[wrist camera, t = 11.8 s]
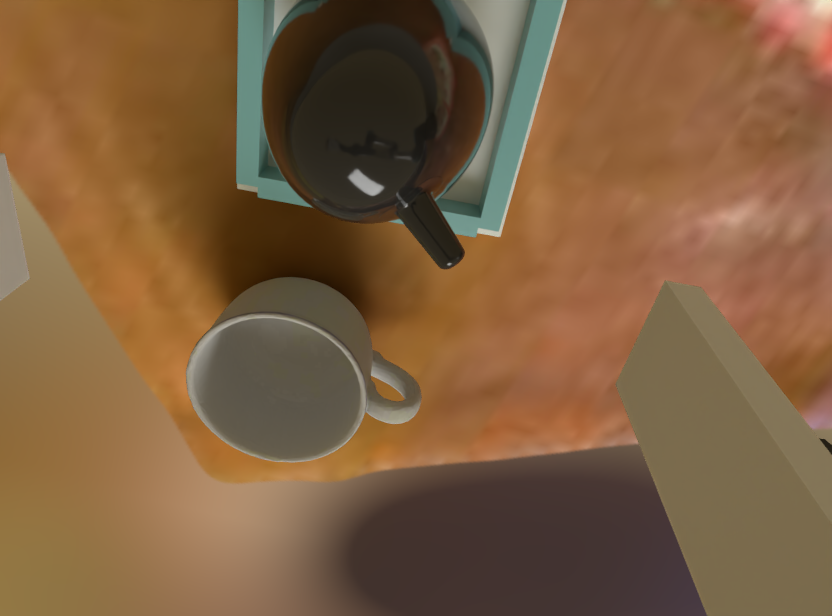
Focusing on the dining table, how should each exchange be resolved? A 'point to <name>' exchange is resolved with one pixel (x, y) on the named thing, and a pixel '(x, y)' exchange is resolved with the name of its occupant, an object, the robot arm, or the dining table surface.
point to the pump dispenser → (379, 109)
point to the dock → (507, 129)
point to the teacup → (292, 373)
